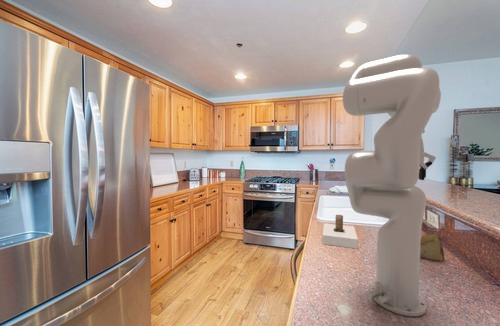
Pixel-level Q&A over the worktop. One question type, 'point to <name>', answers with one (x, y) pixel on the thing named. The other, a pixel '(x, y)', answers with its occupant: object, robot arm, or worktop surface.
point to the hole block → (340, 236)
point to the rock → (431, 247)
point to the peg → (339, 223)
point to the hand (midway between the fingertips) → (405, 179)
